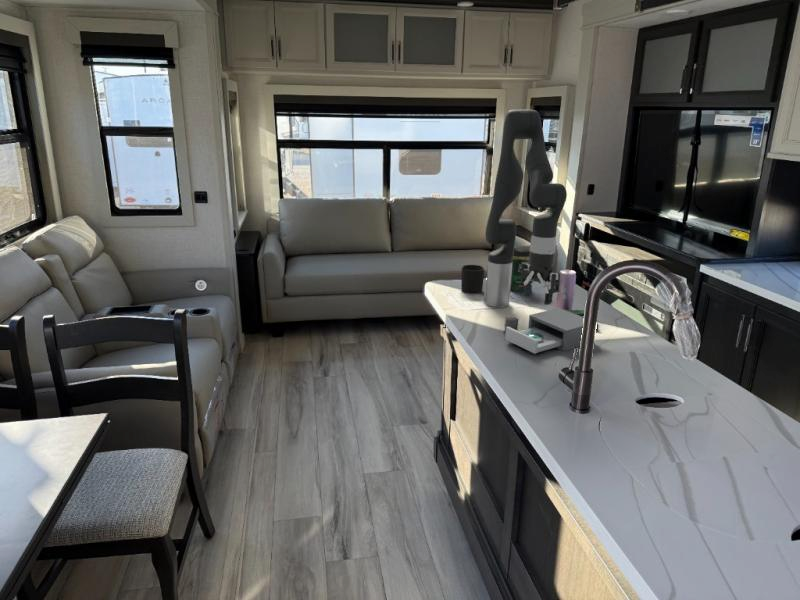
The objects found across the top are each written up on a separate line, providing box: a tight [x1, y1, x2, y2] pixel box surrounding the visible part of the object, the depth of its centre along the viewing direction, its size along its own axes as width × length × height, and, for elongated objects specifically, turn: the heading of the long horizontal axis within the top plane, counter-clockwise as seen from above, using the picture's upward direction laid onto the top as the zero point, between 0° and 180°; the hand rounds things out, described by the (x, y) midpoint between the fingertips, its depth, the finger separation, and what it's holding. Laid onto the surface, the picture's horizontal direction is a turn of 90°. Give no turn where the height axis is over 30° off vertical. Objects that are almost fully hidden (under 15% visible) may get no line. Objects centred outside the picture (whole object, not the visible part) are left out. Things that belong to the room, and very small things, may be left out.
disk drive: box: [566, 309, 599, 332], centre depth 200 cm, size 10×3×15 cm
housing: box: [527, 307, 584, 352], centre depth 185 cm, size 16×14×7 cm
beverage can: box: [555, 269, 577, 310], centre depth 211 cm, size 6×6×15 cm
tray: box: [504, 327, 563, 354], centre depth 179 cm, size 13×13×4 cm
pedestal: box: [503, 316, 519, 335], centre depth 190 cm, size 4×4×5 cm
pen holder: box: [460, 264, 485, 295], centre depth 232 cm, size 9×9×10 cm
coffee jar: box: [510, 245, 530, 292], centre depth 234 cm, size 10×8×19 cm
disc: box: [525, 332, 544, 344], centre depth 179 cm, size 6×6×2 cm
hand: (537, 300), depth 175 cm, fingers open, 8 cm apart
